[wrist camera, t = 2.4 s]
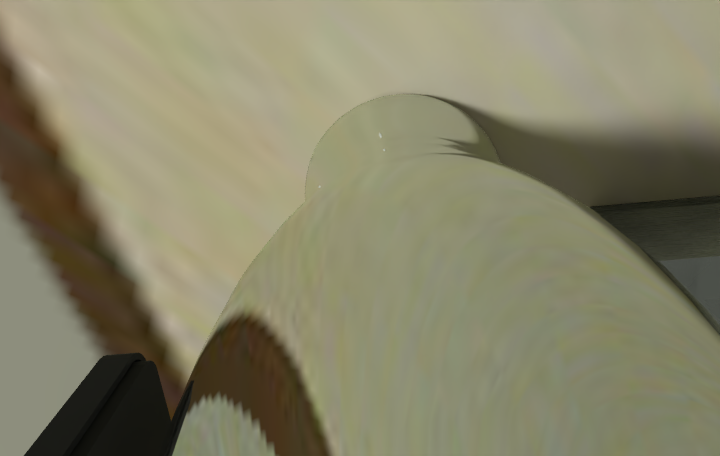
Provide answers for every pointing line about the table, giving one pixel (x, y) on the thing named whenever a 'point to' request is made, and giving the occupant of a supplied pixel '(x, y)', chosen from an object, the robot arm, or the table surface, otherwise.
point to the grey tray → (677, 239)
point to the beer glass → (448, 315)
